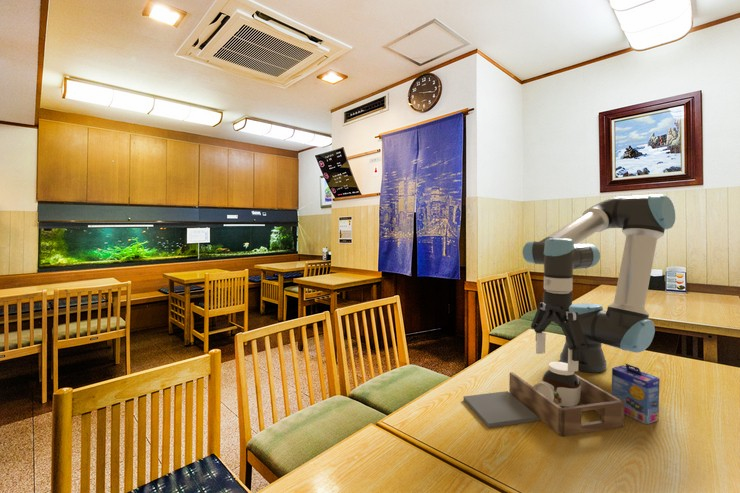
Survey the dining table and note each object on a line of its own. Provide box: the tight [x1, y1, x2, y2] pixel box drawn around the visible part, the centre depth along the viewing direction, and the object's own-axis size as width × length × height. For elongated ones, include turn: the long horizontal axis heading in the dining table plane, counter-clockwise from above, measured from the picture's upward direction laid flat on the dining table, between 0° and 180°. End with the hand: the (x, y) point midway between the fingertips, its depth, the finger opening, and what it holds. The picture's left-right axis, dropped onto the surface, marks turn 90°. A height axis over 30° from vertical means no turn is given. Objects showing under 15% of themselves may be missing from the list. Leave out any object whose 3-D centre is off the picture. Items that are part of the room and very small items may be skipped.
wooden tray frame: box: [508, 371, 625, 437], centre depth 103 cm, size 23×19×7 cm
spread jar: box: [532, 361, 581, 408], centre depth 106 cm, size 12×11×12 cm
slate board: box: [463, 390, 539, 429], centre depth 104 cm, size 15×15×1 cm
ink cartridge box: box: [611, 363, 660, 425], centre depth 100 cm, size 10×6×14 cm, turn 23°
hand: (555, 361), depth 105 cm, fingers open, 13 cm apart
